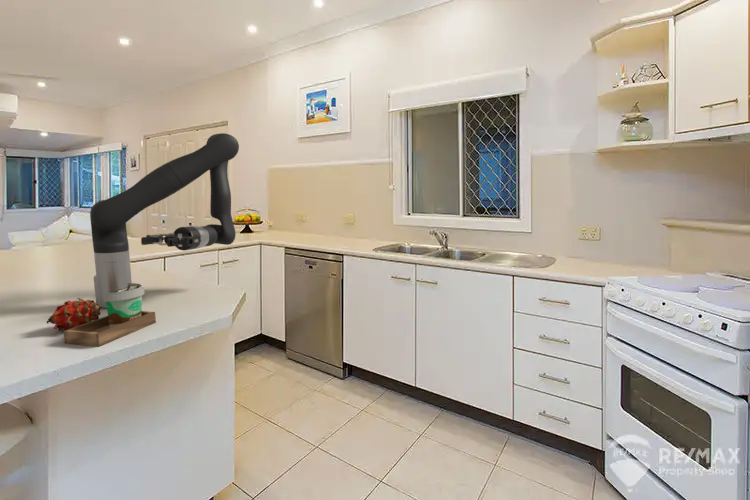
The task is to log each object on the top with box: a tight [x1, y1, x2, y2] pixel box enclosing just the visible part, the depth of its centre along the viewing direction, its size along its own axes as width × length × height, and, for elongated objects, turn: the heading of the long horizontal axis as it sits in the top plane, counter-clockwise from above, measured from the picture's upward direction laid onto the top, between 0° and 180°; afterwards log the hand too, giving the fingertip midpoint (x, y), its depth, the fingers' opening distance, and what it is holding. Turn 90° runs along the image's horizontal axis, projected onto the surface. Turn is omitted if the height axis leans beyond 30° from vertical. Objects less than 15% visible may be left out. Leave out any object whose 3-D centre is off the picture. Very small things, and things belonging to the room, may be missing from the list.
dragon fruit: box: [46, 297, 102, 332], centre depth 103 cm, size 8×8×12 cm
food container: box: [104, 282, 146, 328], centre depth 104 cm, size 12×6×10 cm, turn 6°
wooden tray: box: [62, 310, 157, 347], centre depth 101 cm, size 10×18×3 cm, turn 169°
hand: (155, 242), depth 114 cm, fingers open, 8 cm apart
